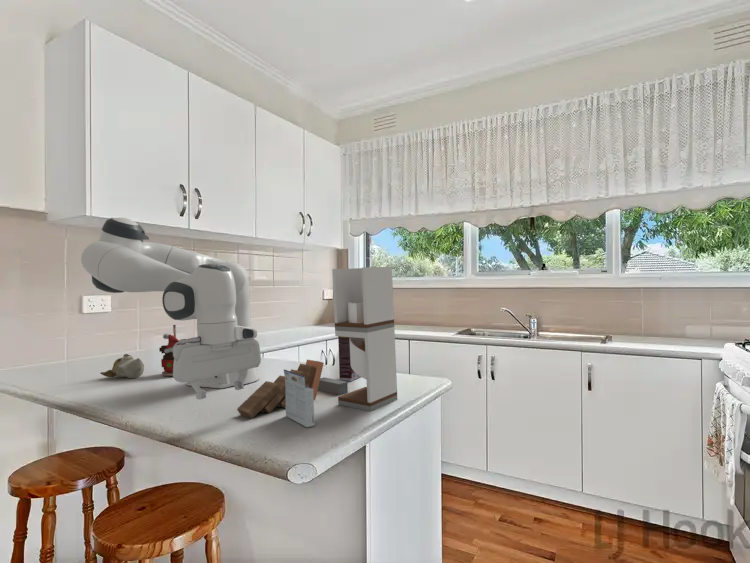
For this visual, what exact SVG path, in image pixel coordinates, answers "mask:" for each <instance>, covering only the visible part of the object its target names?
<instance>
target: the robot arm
mask: <svg viewBox="0 0 750 563" xmlns="http://www.w3.org/2000/svg"><path fill="white" fill-rule="evenodd" d="M144 240H147V241H144ZM148 240H150V237H149V236H148V235H146V232H145V230H144V228H143V226H141V225H140V224H139V223H137V222H136V221H134V220H132V219H129V218H126V217H110V218H108V219H106V220H105V222H104V224H103V226H102V228H101V234H100V236H99V238H98V240H97V241H95V242H92V243H90V244H89V245H86V247H85V248H84V249H83V251H82V253H81V255H80V256H81V258H80V262H81V264H82V267H83V268H84V270H86V272H87V273H88V274H89V275H91V282H92V284H93V286H94V288H96V289H98V290H100V291H103V292H105V293H110V294H121V293H125V292H126V293H147V292H148V293H149V292H163V293H162V297H161V299H162V301H161V302H162V308H163V310H164V312H165V313H166V315H167V316H168V317H170V319H171V320H175V321H189V320H190V321H191V320H196V333H197V334H196V335H197V336H194V337H191V338H183V339H182V338H181V339H178V340H179V342H177V343H176V344H175V345H174V346H173V357H174V364H173V376H172V378H173V379H174V380H175V381H176V382H177V383H182V384H183V383H185V384H186V385H187V386H190V387H192V389H193V390H194V391H195V397H196V399H197V400H203V399H206V398H207V395H206V394H207V390H204V389H202V388H212V389H224V388H229V387H234V390H236V391H239V390H240V391H241V390H242V389H243V390H244V388H245V386H244V385H248V384H250V383H253V382H256V381H258V380H259V379H260V378H259V375H258V372H257V368H258V367H259V366H260V364H261V362H262V357H261V356H262V354H261V348H260V342H259V340H258V339H256V338H257V337H258V330H257V329H256V328H252V320H251V319H252V318H251V317H252V316H251V301H250V282H249V281H250V279H249V274H248V271H247V270H246V268H245V267H244V266H243V265H242V264H240V263H237V262H234V261H228V260H224V259H220V258H217V257H213V256H211V255H207V254H202V253H199V252H197V251H192V250H189V249H184V248H180V247H177V246H174V245H169V244H165V243H159V242H151V241H148ZM177 344H181V345H177ZM201 387H202V388H201Z"/></svg>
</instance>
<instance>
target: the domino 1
mask: <svg viewBox="0 0 750 563" xmlns="http://www.w3.org/2000/svg"><path fill="white" fill-rule="evenodd" d="M280 390H281V389H280V387H279V386H278V384H276V383H274V382H270V381H266V380H265V381H264V382H263V383H261V385H260V386H259V387H258V388H257V389H256V390H255V391H254V392H253V393H252V394H251V395H250V396H249V397H248V398H247V399H246V400H244V402H242V404H240V406H239V407H237V408H236V410H237V412H238V413H239V415H240V416H243V417H245V418H248V419H251V420H252V419H254V418H255V416H256V415H258V413H260V412H261V411H260V410H261V409H262V408H263V407H264V406H265V405H266V404H267V403H268V402H269V401H270V400H271V399H272V398H273V397H274V396H275V395H276V394H277V393H278V392H279V391H280Z"/></svg>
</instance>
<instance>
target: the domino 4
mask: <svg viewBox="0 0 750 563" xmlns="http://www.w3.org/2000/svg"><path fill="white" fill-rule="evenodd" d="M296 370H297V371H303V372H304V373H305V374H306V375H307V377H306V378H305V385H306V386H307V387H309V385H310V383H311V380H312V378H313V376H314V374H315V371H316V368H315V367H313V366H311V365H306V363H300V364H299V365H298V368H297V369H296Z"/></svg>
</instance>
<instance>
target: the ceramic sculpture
mask: <svg viewBox="0 0 750 563" xmlns="http://www.w3.org/2000/svg"><path fill="white" fill-rule="evenodd" d="M144 371H145V364H144V363H143V361H142V359H141V358H139V357H137V358H136V359H135V358H134V357H133V356H132V355H129V354H128V353H125V354H124V355H123V356H122V357H120V358H117V359H116V360H115V361H114V362H113V364H112V368H111V369H108V370H106V371H101V372H100V374H101V375H102V376H104V377H107V378H115V377H118V378H120V377H127V378H128V379H130V378H131V379H138V378H139V377H141V376H142V375H143V373H144Z"/></svg>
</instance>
